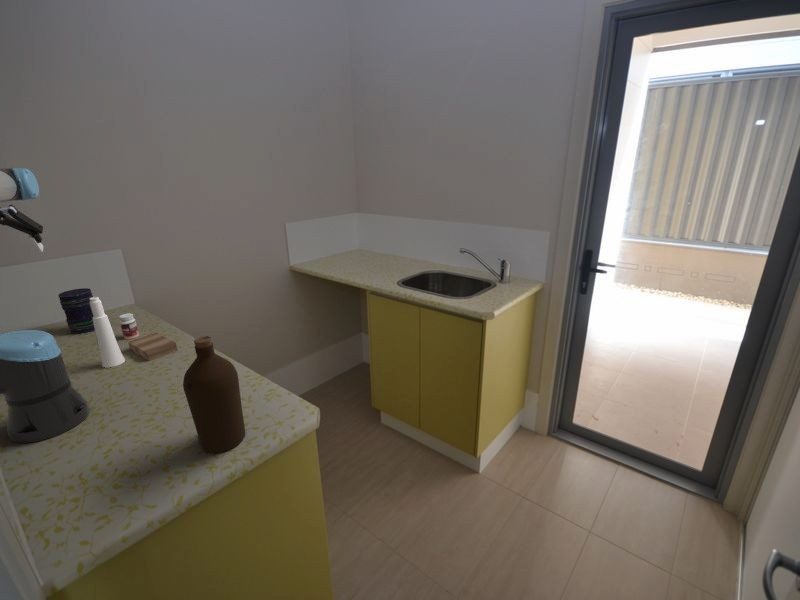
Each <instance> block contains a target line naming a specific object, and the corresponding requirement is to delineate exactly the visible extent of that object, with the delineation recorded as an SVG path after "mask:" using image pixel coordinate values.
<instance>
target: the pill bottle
mask: <svg viewBox="0 0 800 600" xmlns="http://www.w3.org/2000/svg"><path fill="white" fill-rule="evenodd" d="M118 318H119V320H120V321H119V324H120V328H121V332H122V336H123V338H124V339H125V340H132V339H135V338H137V337H139V336H140V333H139V329H138V325H137V322H136V321H137V320H136V319H135V318H134V314H133V313H132V312H131V313H124V314H121V315H119V316H118Z"/></svg>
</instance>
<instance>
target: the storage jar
mask: <svg viewBox="0 0 800 600" xmlns="http://www.w3.org/2000/svg"><path fill="white" fill-rule="evenodd" d="M57 296H58V298H59V303H60V306H61V309H62V310H63V311H64V315H65V317H66V318H65V321H66V324H67V327H68V329H69V331H70V334H71V333H72V335H83V334H82V333H84V334H88V332H89V333H92V332H95V331H94V330H95V327H94V323H93V317H94V316H93V313H92V309H91V306H90V298H92V297H94V295H93V293H92V289H90V288H87V287H84V288H83V287H82V288H75V289H69V290H65V291H63V292H61V293H59V294H58V295H57Z"/></svg>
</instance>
